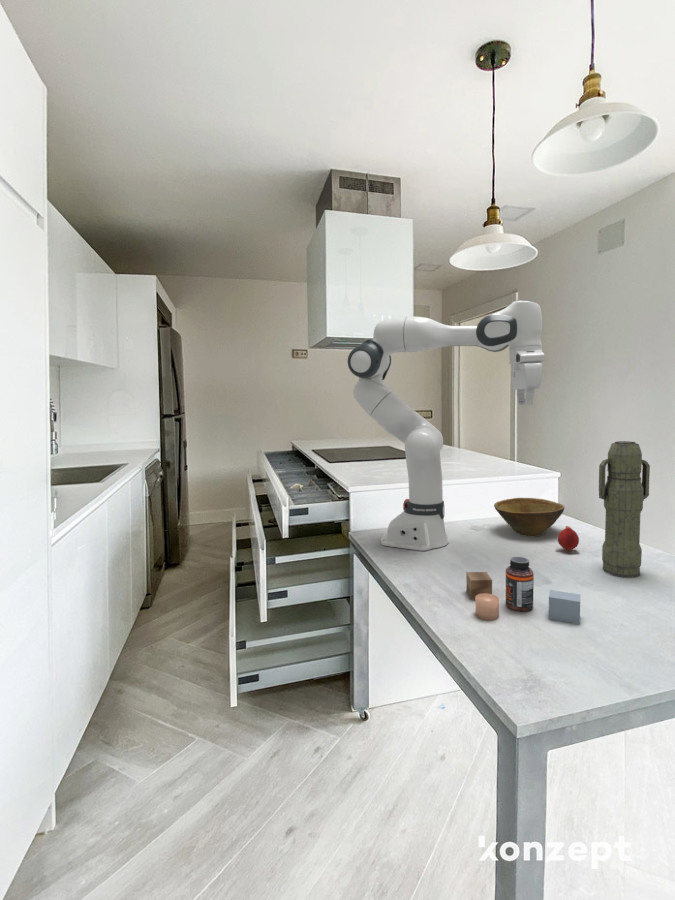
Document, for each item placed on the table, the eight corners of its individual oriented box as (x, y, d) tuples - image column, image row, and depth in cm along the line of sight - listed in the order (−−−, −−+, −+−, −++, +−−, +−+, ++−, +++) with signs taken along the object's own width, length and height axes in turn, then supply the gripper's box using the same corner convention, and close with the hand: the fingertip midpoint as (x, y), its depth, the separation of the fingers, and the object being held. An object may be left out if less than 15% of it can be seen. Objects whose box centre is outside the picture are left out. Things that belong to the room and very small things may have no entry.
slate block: (548, 618, 99) (548, 596, 98) (549, 611, 102) (550, 589, 102) (579, 624, 96) (580, 601, 95) (580, 616, 99) (580, 594, 99)
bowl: (488, 523, 172) (488, 497, 170) (552, 523, 168) (552, 497, 167) (501, 542, 150) (501, 512, 149) (574, 542, 147) (575, 512, 146)
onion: (574, 547, 142) (574, 523, 141) (582, 554, 136) (582, 528, 135) (554, 548, 142) (554, 523, 141) (561, 554, 136) (562, 528, 136)
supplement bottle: (501, 601, 108) (501, 555, 106) (525, 599, 108) (525, 553, 107) (512, 613, 102) (513, 564, 100) (538, 611, 102) (538, 562, 101)
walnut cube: (471, 600, 109) (470, 580, 109) (466, 591, 114) (466, 572, 114) (492, 599, 109) (492, 579, 108) (486, 591, 114) (486, 571, 113)
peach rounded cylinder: (475, 619, 100) (474, 601, 99) (475, 608, 105) (475, 592, 104) (499, 621, 98) (499, 604, 98) (498, 611, 103) (498, 594, 103)
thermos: (654, 576, 118) (660, 442, 114) (609, 578, 118) (613, 444, 114) (632, 564, 127) (636, 439, 123) (590, 566, 127) (593, 441, 123)
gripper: (507, 360, 143) (506, 404, 145) (521, 355, 123) (521, 406, 125) (528, 359, 142) (527, 404, 144) (546, 353, 122) (545, 405, 124)
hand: (524, 405), depth 134 cm, fingers open, 8 cm apart
